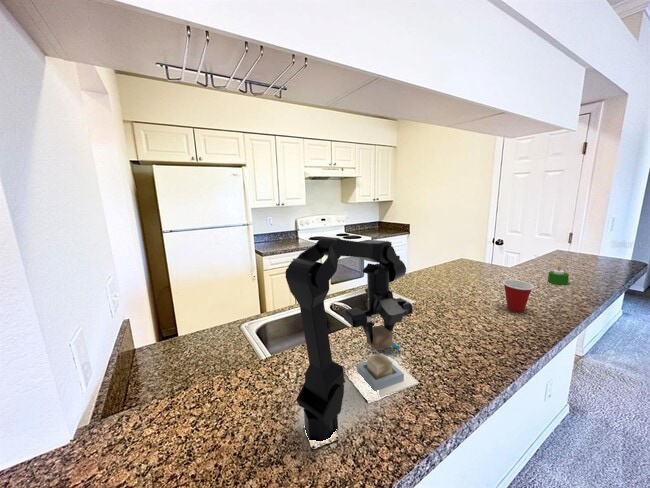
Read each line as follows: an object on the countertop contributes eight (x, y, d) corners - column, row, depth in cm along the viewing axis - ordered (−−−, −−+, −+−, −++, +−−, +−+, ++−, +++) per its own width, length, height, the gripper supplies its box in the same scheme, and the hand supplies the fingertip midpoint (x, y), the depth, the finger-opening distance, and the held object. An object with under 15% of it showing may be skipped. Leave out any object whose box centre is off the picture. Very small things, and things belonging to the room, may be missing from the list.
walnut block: (377, 350, 72) (376, 336, 72) (366, 342, 77) (366, 329, 76) (392, 346, 74) (392, 332, 74) (381, 337, 79) (381, 324, 78)
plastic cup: (524, 317, 110) (526, 289, 108) (496, 309, 119) (497, 282, 117) (537, 311, 115) (539, 283, 113) (509, 303, 124) (510, 277, 122)
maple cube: (377, 384, 74) (376, 367, 73) (367, 373, 79) (367, 357, 78) (392, 378, 76) (392, 362, 75) (382, 368, 81) (381, 353, 80)
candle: (544, 282, 150) (545, 264, 148) (554, 280, 152) (556, 262, 150) (560, 286, 142) (562, 267, 140) (571, 284, 144) (573, 265, 143)
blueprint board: (368, 404, 68) (368, 393, 68) (343, 372, 81) (343, 363, 81) (419, 385, 74) (419, 375, 74) (388, 358, 87) (388, 349, 86)
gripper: (363, 303, 62) (364, 365, 65) (427, 289, 69) (426, 346, 72) (341, 289, 72) (344, 343, 75) (399, 278, 79) (400, 328, 82)
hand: (379, 340), depth 76 cm, fingers closed on walnut block, 5 cm apart
